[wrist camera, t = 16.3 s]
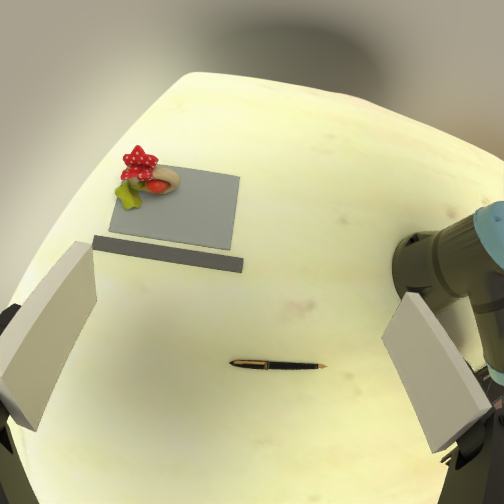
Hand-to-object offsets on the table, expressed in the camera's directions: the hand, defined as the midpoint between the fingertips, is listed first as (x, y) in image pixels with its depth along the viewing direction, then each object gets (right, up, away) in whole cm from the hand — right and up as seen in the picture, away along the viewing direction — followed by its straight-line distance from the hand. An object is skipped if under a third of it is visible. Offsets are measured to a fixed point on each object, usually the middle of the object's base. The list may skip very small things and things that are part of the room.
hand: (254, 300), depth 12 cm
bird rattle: (-15, +11, +32) cm, 37 cm away
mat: (-12, +7, +32) cm, 35 cm away
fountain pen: (+4, -14, +29) cm, 33 cm away
